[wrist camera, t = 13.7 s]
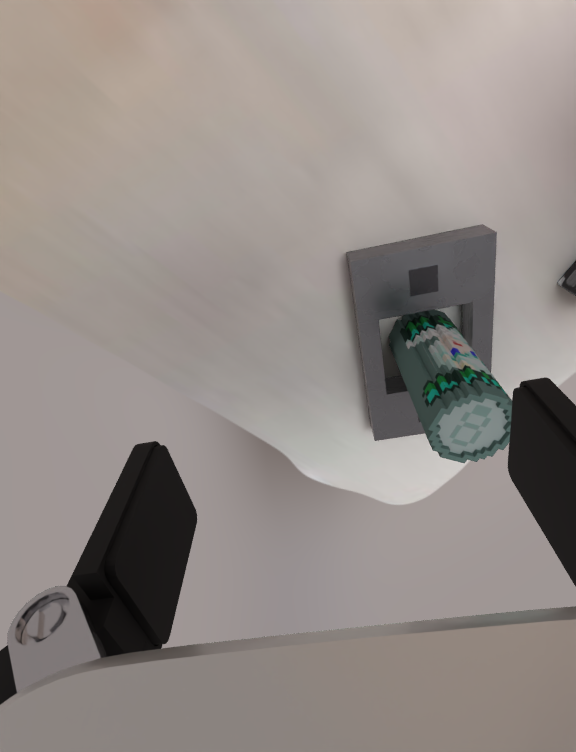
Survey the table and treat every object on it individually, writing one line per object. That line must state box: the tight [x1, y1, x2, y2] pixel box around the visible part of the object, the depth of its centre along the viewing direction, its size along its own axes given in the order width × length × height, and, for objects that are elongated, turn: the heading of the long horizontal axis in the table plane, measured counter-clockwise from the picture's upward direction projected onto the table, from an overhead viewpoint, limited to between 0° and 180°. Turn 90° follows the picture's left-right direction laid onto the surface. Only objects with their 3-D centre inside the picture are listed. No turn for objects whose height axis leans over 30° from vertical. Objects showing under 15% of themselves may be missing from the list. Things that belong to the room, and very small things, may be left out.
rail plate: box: [347, 225, 497, 441], centre depth 42 cm, size 12×20×3 cm, turn 12°
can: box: [389, 310, 512, 463], centre depth 37 cm, size 6×6×15 cm
